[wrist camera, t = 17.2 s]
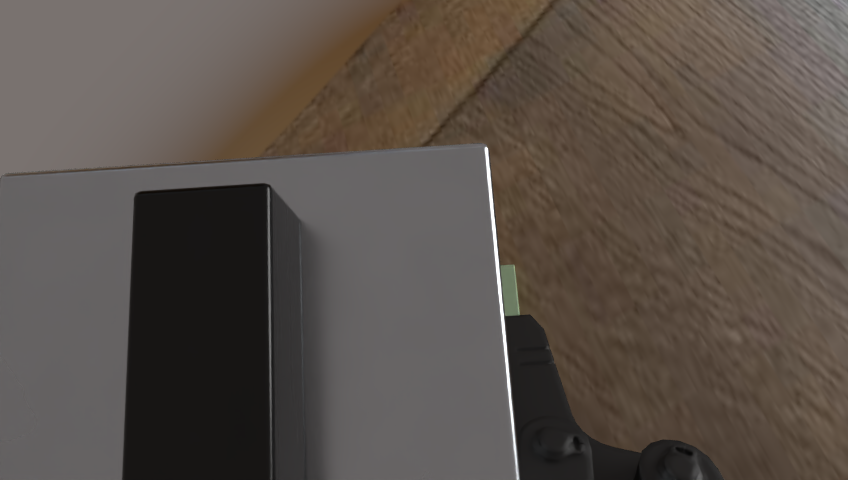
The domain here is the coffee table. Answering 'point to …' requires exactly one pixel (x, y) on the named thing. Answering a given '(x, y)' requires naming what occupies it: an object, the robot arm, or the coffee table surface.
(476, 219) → the silver box
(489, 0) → the coffee table surface
